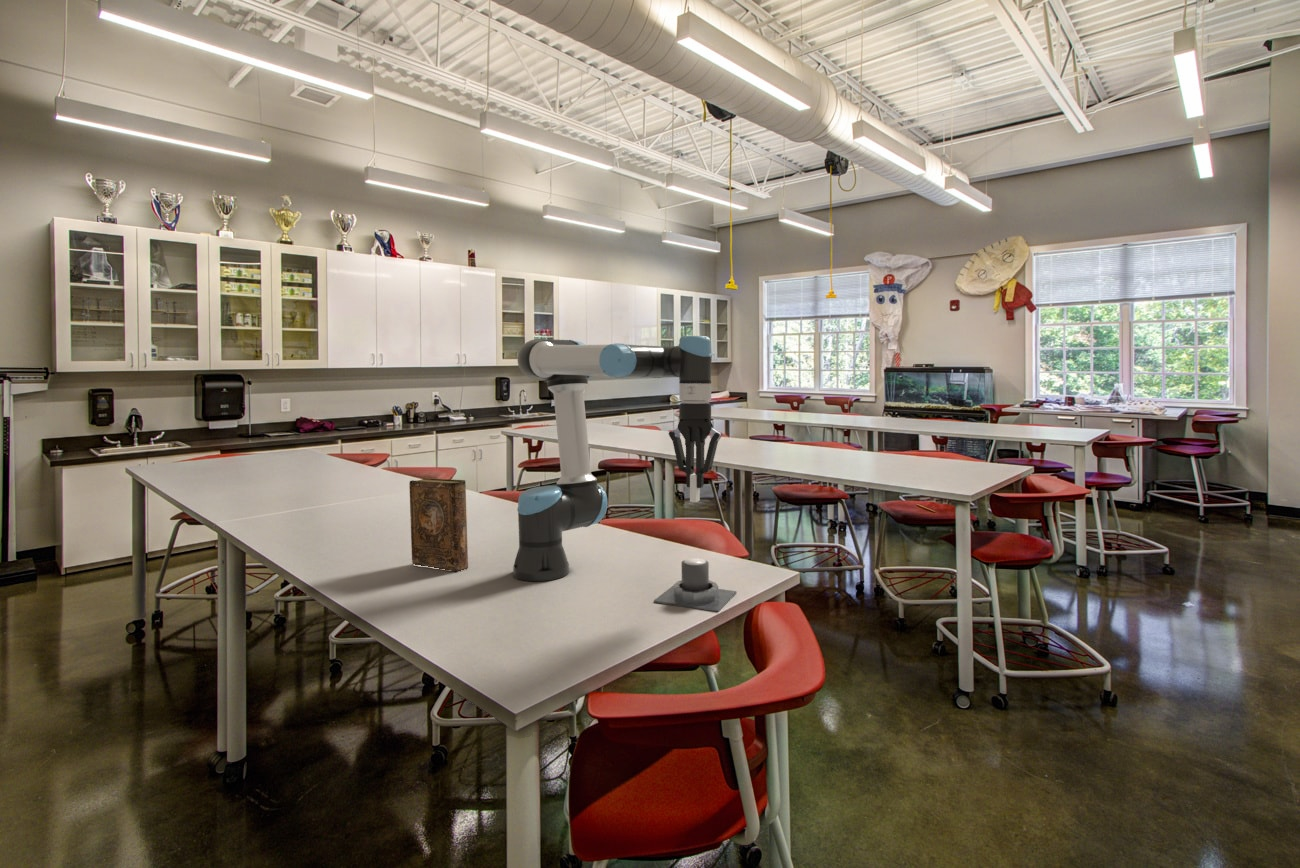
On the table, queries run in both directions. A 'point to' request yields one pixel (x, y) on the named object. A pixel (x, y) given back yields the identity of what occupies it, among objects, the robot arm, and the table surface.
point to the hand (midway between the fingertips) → (694, 501)
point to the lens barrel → (695, 574)
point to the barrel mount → (696, 597)
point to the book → (439, 523)
